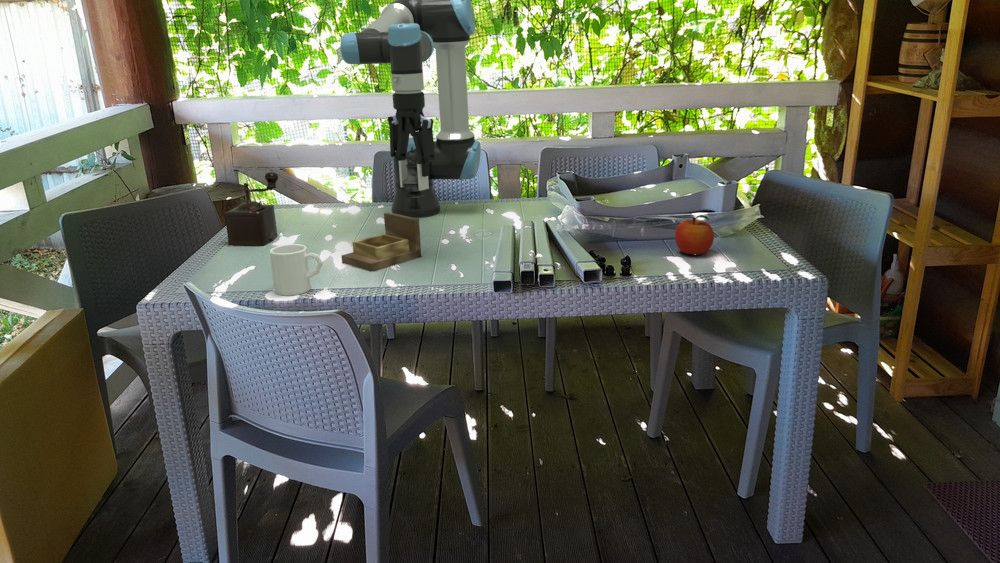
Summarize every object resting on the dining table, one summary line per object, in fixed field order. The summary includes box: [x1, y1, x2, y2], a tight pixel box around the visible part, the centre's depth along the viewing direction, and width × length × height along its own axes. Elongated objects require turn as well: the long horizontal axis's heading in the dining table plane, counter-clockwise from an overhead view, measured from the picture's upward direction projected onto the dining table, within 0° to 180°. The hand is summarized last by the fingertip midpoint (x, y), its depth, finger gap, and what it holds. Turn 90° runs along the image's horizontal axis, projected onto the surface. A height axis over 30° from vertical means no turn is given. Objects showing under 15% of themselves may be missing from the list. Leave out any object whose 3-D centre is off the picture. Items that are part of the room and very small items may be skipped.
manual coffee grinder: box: [224, 171, 279, 247], centre depth 227 cm, size 16×11×18 cm
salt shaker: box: [402, 147, 426, 198], centre depth 198 cm, size 6×6×12 cm
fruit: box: [674, 214, 715, 256], centre depth 202 cm, size 10×10×10 cm
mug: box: [269, 243, 324, 297], centre depth 183 cm, size 8×12×10 cm, turn 78°
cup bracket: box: [340, 211, 422, 272], centre depth 205 cm, size 16×12×10 cm
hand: (414, 187), depth 200 cm, fingers closed on salt shaker, 6 cm apart
